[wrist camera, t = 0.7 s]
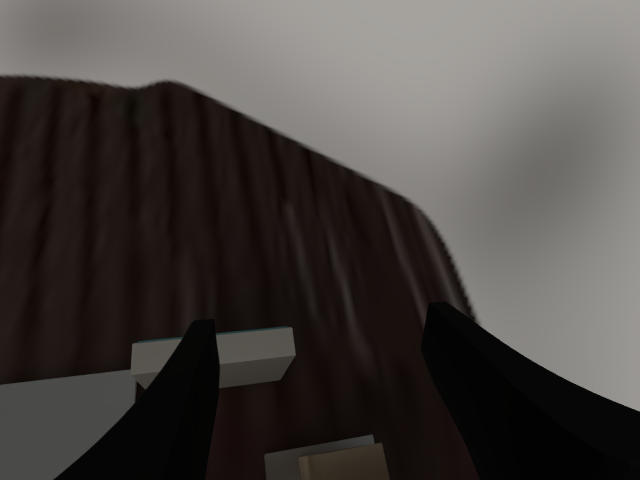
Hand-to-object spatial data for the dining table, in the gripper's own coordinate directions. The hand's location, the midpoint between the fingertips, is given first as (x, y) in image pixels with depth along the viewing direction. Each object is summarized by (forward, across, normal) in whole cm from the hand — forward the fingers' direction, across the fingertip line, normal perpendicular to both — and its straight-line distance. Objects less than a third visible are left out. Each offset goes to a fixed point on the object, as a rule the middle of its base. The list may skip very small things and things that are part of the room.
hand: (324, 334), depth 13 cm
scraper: (+4, -1, +16) cm, 16 cm away
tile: (+10, +5, +11) cm, 16 cm away
